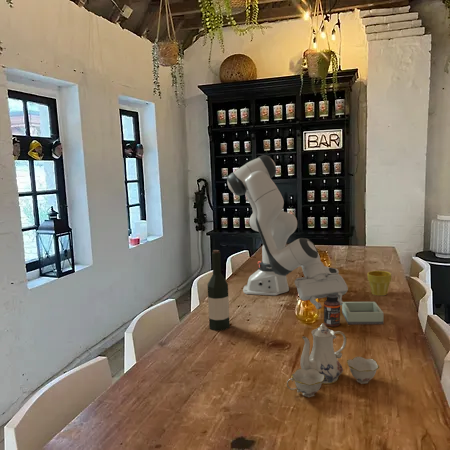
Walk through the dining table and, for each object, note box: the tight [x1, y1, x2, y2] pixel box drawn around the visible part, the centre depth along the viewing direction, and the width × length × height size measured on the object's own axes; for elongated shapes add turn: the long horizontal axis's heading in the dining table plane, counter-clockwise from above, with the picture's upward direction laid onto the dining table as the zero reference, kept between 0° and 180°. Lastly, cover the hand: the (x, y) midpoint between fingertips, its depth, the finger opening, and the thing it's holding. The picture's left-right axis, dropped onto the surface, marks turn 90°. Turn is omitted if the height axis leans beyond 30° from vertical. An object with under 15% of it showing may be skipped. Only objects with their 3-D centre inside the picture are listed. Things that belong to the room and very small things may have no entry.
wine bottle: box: [207, 249, 231, 332], centre depth 163 cm, size 8×8×30 cm
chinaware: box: [286, 322, 380, 398], centre depth 119 cm, size 28×17×17 cm, turn 115°
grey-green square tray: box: [341, 301, 384, 325], centre depth 167 cm, size 13×13×4 cm
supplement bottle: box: [323, 294, 341, 328], centre depth 162 cm, size 6×6×11 cm
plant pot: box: [367, 270, 392, 297], centre depth 196 cm, size 10×10×10 cm
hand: (330, 306), depth 162 cm, fingers open, 8 cm apart
